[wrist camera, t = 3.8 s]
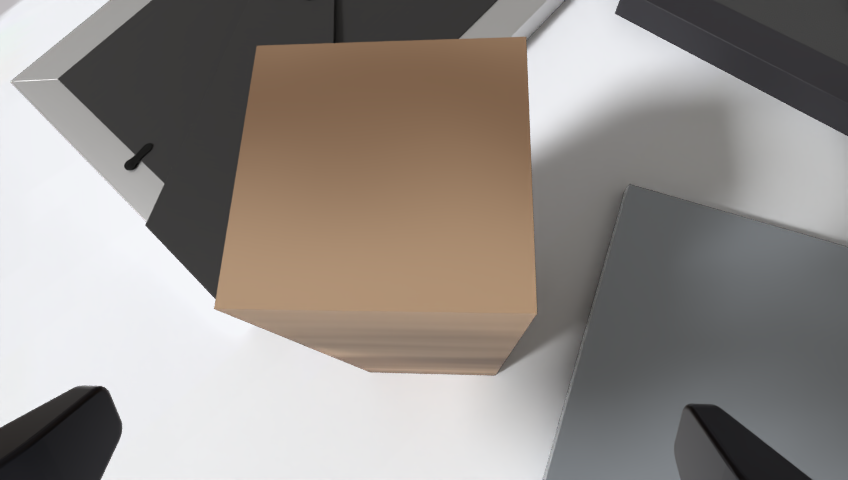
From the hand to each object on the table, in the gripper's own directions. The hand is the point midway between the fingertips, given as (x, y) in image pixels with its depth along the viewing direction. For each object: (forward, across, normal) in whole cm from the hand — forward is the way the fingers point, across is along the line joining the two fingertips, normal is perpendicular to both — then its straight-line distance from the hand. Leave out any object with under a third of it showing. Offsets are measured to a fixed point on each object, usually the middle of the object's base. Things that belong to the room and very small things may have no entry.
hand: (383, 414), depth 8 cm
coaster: (+8, -11, +7) cm, 15 cm away
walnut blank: (+10, 0, +5) cm, 11 cm away
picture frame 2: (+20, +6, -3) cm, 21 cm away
